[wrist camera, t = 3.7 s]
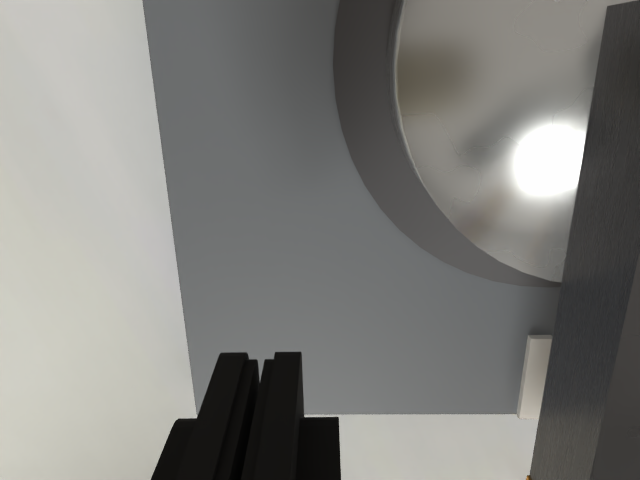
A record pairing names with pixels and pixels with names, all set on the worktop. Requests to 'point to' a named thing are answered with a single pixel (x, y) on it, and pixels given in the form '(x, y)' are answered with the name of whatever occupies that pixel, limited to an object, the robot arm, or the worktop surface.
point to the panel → (327, 219)
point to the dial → (541, 187)
